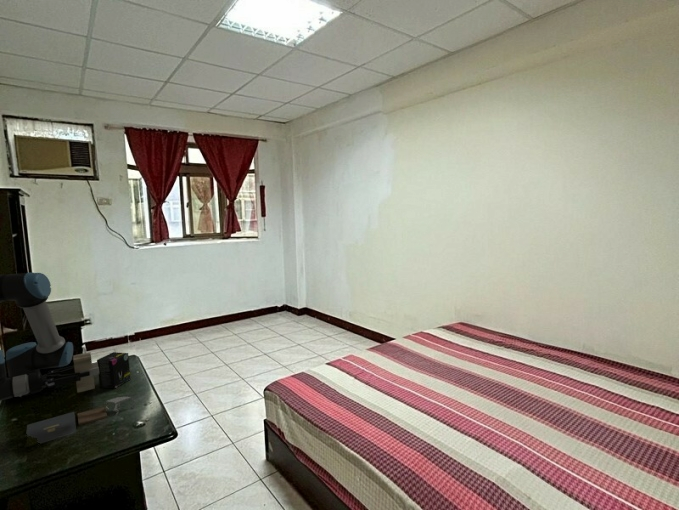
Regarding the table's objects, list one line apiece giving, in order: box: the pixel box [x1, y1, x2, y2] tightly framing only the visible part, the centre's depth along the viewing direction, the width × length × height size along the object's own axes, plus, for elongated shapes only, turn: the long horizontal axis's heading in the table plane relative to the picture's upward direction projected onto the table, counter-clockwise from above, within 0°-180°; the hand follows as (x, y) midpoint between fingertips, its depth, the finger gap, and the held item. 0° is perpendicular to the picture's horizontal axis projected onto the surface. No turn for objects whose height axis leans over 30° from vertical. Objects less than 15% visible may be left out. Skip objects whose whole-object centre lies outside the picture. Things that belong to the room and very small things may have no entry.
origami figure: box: [104, 396, 138, 416], centre depth 166 cm, size 12×8×5 cm
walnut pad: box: [77, 405, 108, 427], centre depth 161 cm, size 10×10×1 cm
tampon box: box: [96, 351, 131, 390], centre depth 191 cm, size 11×9×15 cm
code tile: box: [25, 411, 77, 445], centre depth 153 cm, size 20×16×1 cm
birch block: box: [72, 352, 96, 393], centre depth 158 cm, size 6×6×14 cm
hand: (98, 367), depth 161 cm, fingers closed on birch block, 6 cm apart
